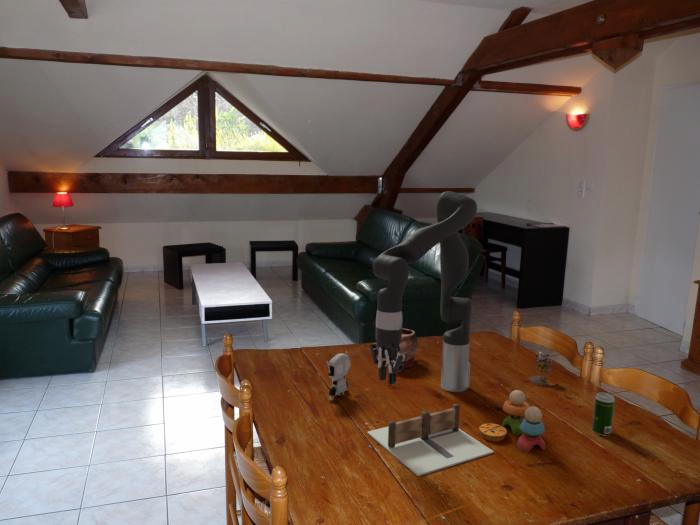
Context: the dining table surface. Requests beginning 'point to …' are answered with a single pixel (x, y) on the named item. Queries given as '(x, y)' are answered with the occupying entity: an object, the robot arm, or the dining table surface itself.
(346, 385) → the robot toy
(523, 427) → the set of stacked toys
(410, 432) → the panel
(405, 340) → the decorative planter
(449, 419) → the fence fixed
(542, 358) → the robot figurine
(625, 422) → the dining table surface
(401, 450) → the board
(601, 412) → the beer can
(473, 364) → the dining table surface
